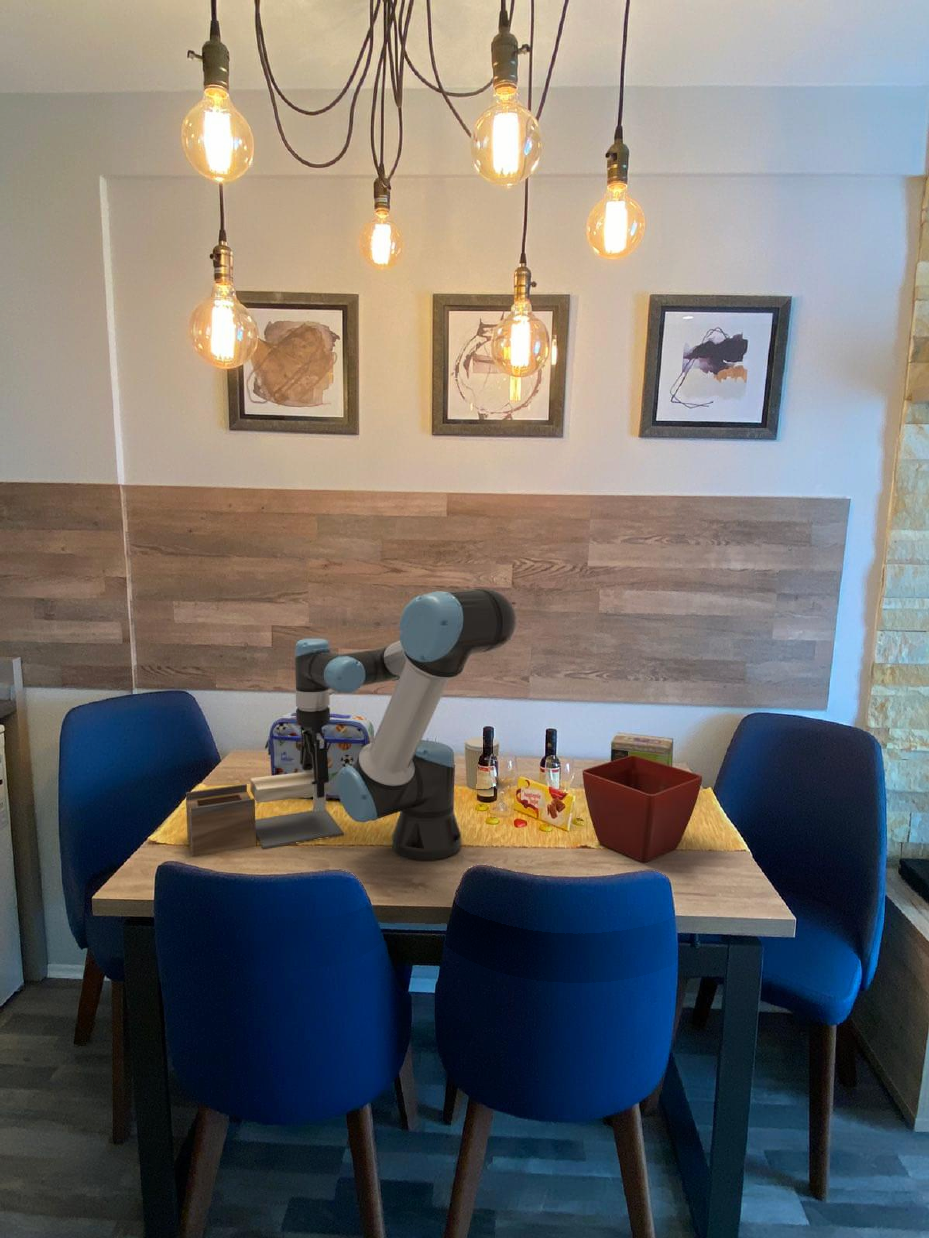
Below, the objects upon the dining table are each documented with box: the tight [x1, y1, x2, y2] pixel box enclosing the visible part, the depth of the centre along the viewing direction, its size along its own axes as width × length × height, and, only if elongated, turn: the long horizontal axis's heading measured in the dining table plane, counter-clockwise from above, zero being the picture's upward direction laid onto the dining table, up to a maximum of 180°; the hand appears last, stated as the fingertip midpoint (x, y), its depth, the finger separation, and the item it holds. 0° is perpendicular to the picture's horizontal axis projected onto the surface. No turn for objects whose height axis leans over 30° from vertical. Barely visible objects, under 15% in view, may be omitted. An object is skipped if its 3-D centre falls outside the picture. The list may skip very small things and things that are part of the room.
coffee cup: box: [463, 736, 500, 790], centre depth 202 cm, size 9×9×12 cm
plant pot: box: [582, 755, 703, 863], centre depth 167 cm, size 19×19×17 cm
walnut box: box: [185, 783, 257, 857], centre depth 165 cm, size 10×13×10 cm
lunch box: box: [264, 712, 375, 799], centre depth 193 cm, size 28×10×22 cm, turn 84°
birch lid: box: [249, 771, 329, 804], centre depth 171 cm, size 8×16×3 cm, turn 117°
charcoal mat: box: [255, 808, 345, 850], centre depth 173 cm, size 15×18×1 cm
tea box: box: [610, 732, 674, 767], centre depth 198 cm, size 15×10×15 cm, turn 69°
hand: (314, 803), depth 174 cm, fingers closed on birch lid, 8 cm apart
